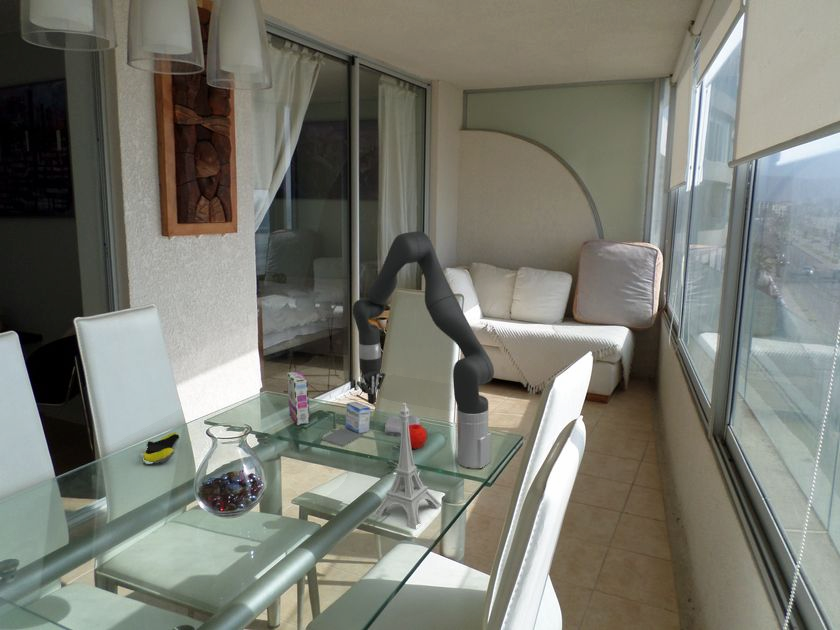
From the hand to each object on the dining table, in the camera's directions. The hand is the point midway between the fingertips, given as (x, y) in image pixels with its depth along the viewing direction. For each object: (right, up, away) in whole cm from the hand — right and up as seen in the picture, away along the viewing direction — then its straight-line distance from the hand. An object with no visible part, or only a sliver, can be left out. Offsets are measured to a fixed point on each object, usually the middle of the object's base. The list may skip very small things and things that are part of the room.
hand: (372, 402), depth 228 cm
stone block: (+11, -9, -7) cm, 16 cm away
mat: (-9, -10, -11) cm, 17 cm away
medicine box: (-5, -8, -5) cm, 11 cm away
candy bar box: (-26, -7, +5) cm, 28 cm away
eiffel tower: (+13, -21, -56) cm, 61 cm away
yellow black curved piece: (-65, -15, -22) cm, 70 cm away
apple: (+15, -12, -19) cm, 27 cm away
